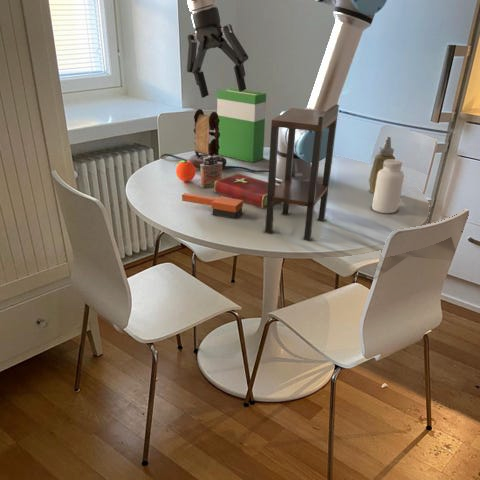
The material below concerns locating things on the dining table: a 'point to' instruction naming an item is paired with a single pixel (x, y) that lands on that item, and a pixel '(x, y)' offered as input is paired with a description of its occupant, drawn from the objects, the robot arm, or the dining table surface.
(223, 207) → the brush
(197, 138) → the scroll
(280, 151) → the robot arm
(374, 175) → the squeeze bottle
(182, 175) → the clementine
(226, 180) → the hardcover book
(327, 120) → the metal plant stand
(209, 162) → the lighter
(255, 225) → the dining table surface
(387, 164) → the pill bottle
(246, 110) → the green cereal box
